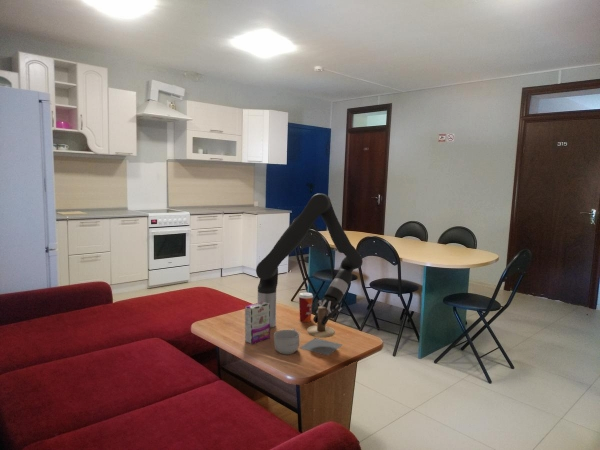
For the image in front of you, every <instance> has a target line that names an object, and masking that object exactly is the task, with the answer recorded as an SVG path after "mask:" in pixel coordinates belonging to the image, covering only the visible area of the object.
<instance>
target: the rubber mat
mask: <svg viewBox="0 0 600 450" xmlns="http://www.w3.org/2000/svg"><path fill="white" fill-rule="evenodd" d="M342 346H343V343H342V344H341V343H338V342H333V341H329V340H325V339H322V338H321V339H320V338H318V337H314V338H313V339H311V340H309V341H308V342H306V343H305V344H303V345H302V346H299V349H302V350H305V351H309V352H312V353H316V354H320V355H325V356H330V355H331V354H333V352H335V351H336V350H338V349H340V347H342Z"/></svg>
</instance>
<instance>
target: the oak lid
mask: <svg viewBox="0 0 600 450" xmlns="http://www.w3.org/2000/svg"><path fill="white" fill-rule="evenodd" d="M326 312H327V310H326V307H322V306H321V307H318V319H317V323H316V324H315V325H311V326H309V327H307V329H306V332H307V334H308V335H309V336H311V337H314V338H319V339H320V338H321V339H322V338H323V339H325V338H330V337H333V336H335V334H336V330H335V329H334V328H333V327H330V326H327V325H326V324H327V323H326V324H325V325H324V326H323V325H322V324H321V322H322V320H323V318H324V316H326Z"/></svg>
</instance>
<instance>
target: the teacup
mask: <svg viewBox="0 0 600 450" xmlns="http://www.w3.org/2000/svg"><path fill="white" fill-rule="evenodd" d="M273 340H274V341H273V344H274V349H275V350H276V351H277V352H278V353H280V354H282V355H291V354H294V353H296V351H298V350H299V349H300V333H299V331H298V330H296V329H295V328H291V329H281V330H277V331H275V332H274V333H273Z"/></svg>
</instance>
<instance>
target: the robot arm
mask: <svg viewBox="0 0 600 450" xmlns="http://www.w3.org/2000/svg"><path fill="white" fill-rule="evenodd" d="M319 217H321V219H322V220H323V222H324V223H325V225H326V228H327V231H328V233H329V236H330V238H331V241H332V243H333V245H334V246H335V248H336V250H337V252H338V253H340V254H343V255H344V258H343V259H342V261H341V263H340V266H339V268H338V271H337V273H336V276H334V279H333V280H332V281H331V283H330V284H329V286H328V288H327V290H326V291H325V294H324V296H323V298H322V299H318V298H317V299H315V303H314V307H313V308H314V309H313V311H314V312H315V314H314V317H313V323H315V324H317V319H318V307H321V306H322V307H326V316H324V318H323V320H322V322H321V324H322V325H323V326H324V325H325V324H327V323H328V321H329V319H335V318H336V317H337V316H338V315H339V314H340V313H341V312H342V311H343V308H342V306H341V305H340V303H341V301H342V300H343V297H344V295H346V294H345V293H346V292H347V290H348V287H349V285H350V284H351V282H352V280H353V274H352V273H353V272H354V270H356V269H359V268H361V267H362V266H363V261H364V260H363V258H362V254H361V253H360V252H359V251H358V250H357V249H356V248H355V247H354V245H353V244H352V243H351V242H350V239H349V238H348V235H347V233H346V231H344V229H343V227H342V225H341V223H340V221H339V219H338V217H337V215H336V212H335V211H334V207H333V204H332V202H331V198H330V197H329V196H328V195H327V194H326V193H316V194H314V195H313V196H311V198H310V199H309V200H308V202H307V204H306V205H305V207H304V209H303V210H302V212H301V213H300V214H299V215H298V216H297V217H296V218H295V219H294V220H293V222H291V224H290V225H288V227H287V228H286V229H285V231H284V232H283V233H282V235H281V236H280V237H279V238H278V240H277V241H276V243H275V244H274V246H273V247H272V249H271V250H270V252H269V253H268V254H267V255H266V256H265V257H264V258H263V259H261V261H259V262H258V264H257V266H256V268H255V274H256V276H257V277H258V278H259V282H258V284H257V303H259V302H267V303H270V329H271V328H274V327H275V326H276V325H277V288H278V282H279V280H278V279H279V267H280V264H281V263H282V262H283V260H285V259H286V258H287V257H288V256H290V254H291V253H293V252H294V251H295V250H296V248H298V246H299V245H300V244H301V243H302V241H304V239H305V238H306V236H307V235H308V233H309V231H310V228H311V227H312V226H313V224H314V223H315V221H317V219H318V218H319Z"/></svg>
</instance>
